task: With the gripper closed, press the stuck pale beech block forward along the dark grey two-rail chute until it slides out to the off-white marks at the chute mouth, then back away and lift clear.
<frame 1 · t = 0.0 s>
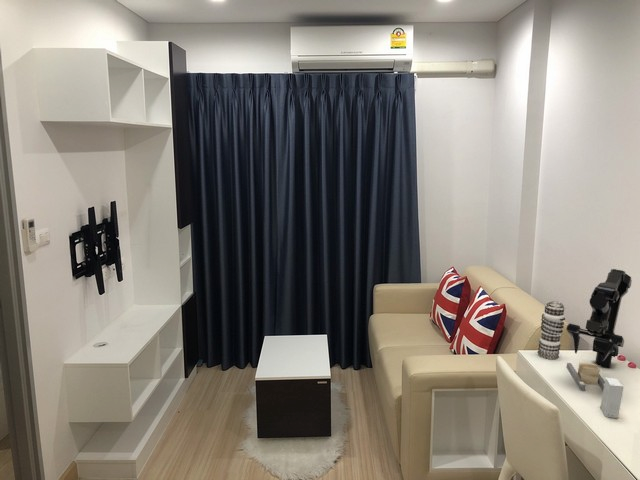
hand: (588, 356, 195), 15 cm above the table, tool tilted 35°, fingers open, 9 cm apart
block: (588, 373, 206), point 4 cm above the table, slide at 0.0 cm
banded tower model: (547, 358, 228), on the table
chute: (586, 382, 207), on the table
skincare box: (608, 413, 185), on the table
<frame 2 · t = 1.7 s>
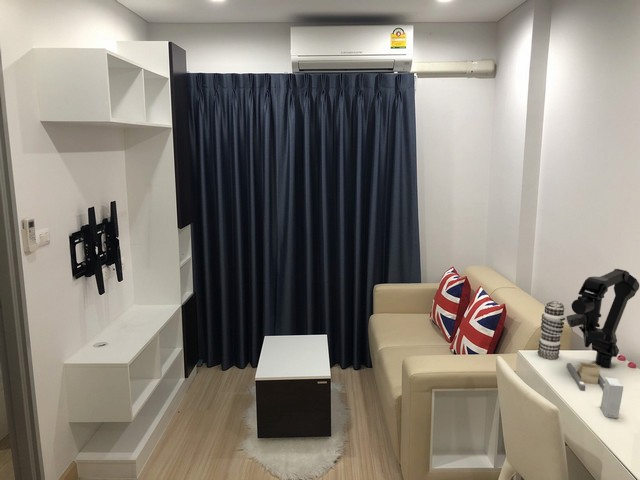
hand: (586, 346, 210), 12 cm above the table, tool pointing down, fingers closed
nothing on the table moved.
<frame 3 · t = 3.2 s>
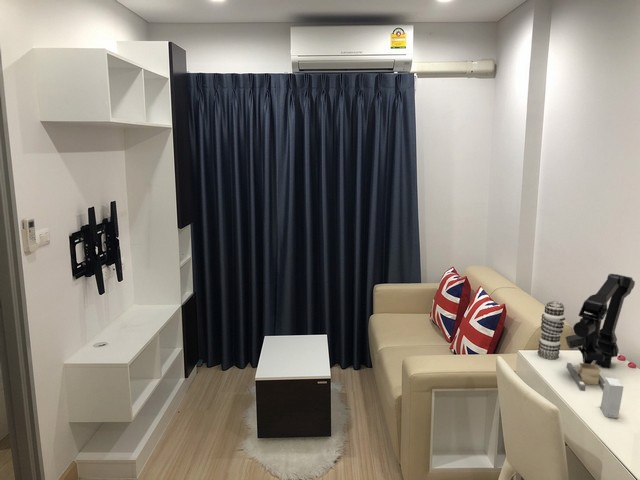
hand: (585, 367, 209), 5 cm above the table, tool pointing down, fingers closed
block: (588, 373, 205), point 4 cm above the table, slide at 0.5 cm, touching gripper
everything else where it was.
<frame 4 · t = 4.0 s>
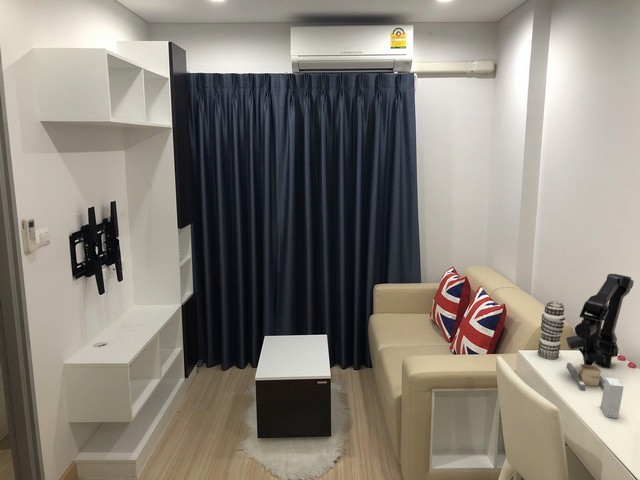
hand: (586, 368, 208), 5 cm above the table, tool pointing down, fingers closed
block: (589, 374, 204), point 4 cm above the table, slide at 1.5 cm, touching gripper
everything else where it was.
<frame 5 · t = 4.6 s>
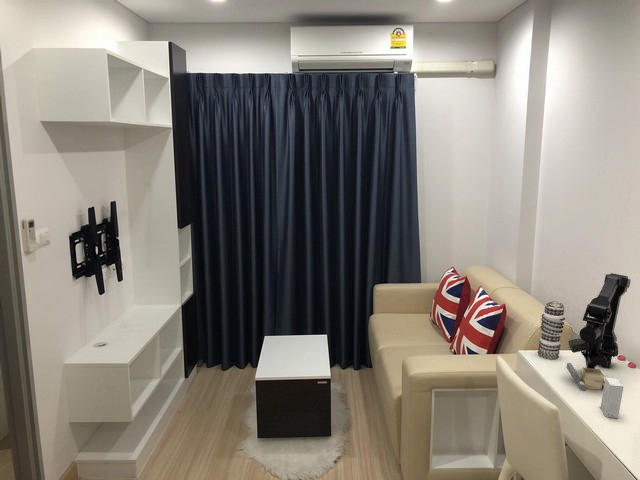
hand: (588, 372, 205), 5 cm above the table, tool pointing down, fingers closed
block: (591, 378, 201), point 4 cm above the table, slide at 4.6 cm, touching gripper
everything else where it was.
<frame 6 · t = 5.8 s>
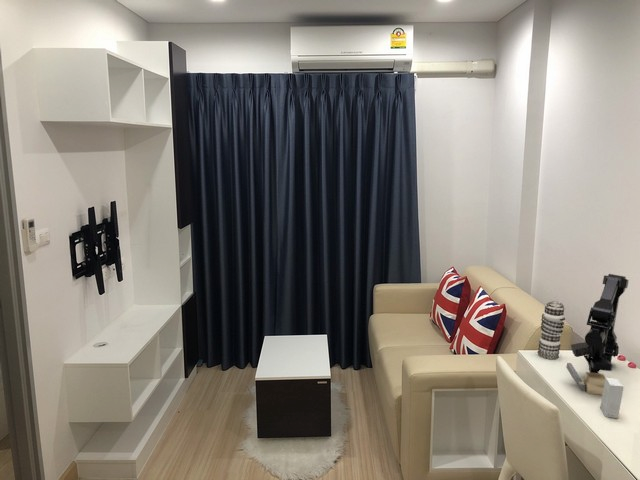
hand: (591, 377, 201), 5 cm above the table, tool pointing down, fingers closed
block: (595, 383, 198), point 4 cm above the table, slide at 8.5 cm, touching gripper
everything else where it was.
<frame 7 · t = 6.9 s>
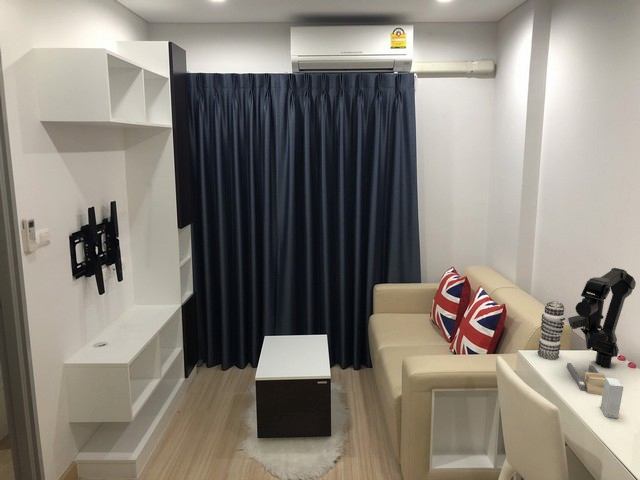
hand: (588, 348, 208), 12 cm above the table, tool pointing down, fingers closed
block: (595, 383, 198), point 4 cm above the table, slide at 8.5 cm
everything else where it was.
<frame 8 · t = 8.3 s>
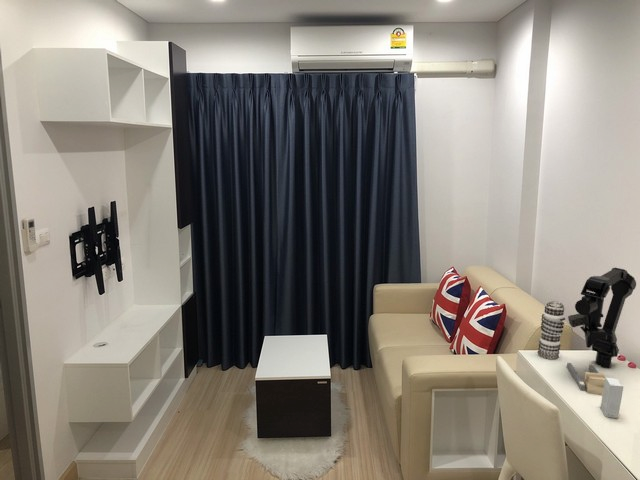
hand: (588, 347, 208), 13 cm above the table, tool pointing down, fingers closed
nothing on the table moved.
at the end: block slide at 8.5 cm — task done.
